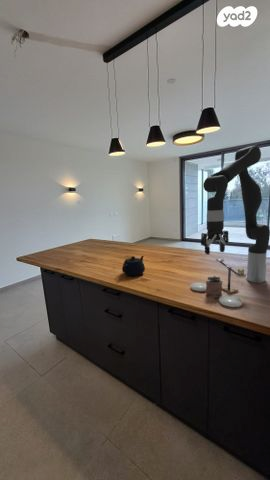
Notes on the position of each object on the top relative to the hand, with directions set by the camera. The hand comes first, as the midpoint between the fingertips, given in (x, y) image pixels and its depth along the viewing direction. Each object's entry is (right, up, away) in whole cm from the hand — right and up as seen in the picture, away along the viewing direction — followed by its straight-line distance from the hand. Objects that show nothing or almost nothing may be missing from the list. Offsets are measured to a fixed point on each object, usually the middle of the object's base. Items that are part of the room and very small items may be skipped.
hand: (214, 253), depth 103 cm
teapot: (-39, -17, +44) cm, 61 cm away
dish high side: (-3, -21, +14) cm, 25 cm away
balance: (+11, -21, +10) cm, 25 cm away
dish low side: (+6, -23, -4) cm, 24 cm away
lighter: (+1, -22, +5) cm, 23 cm away
